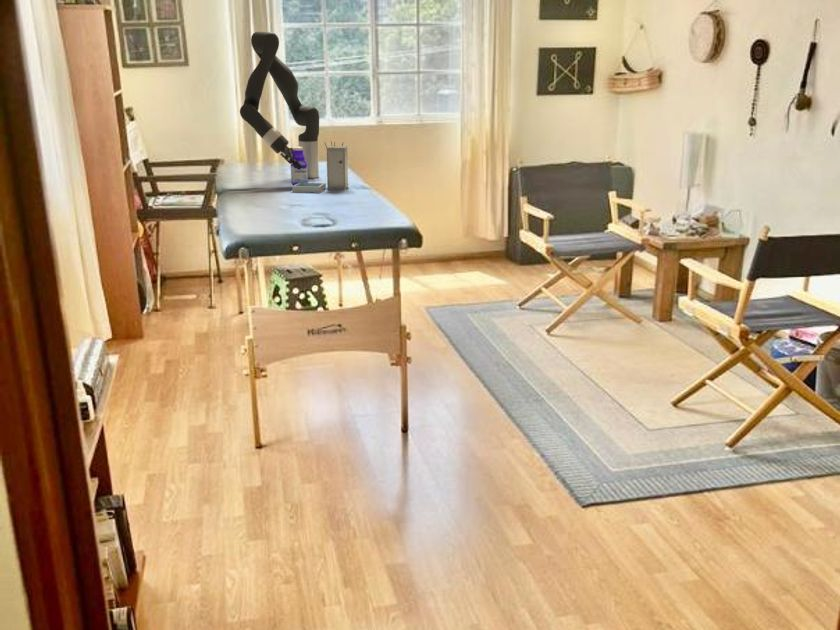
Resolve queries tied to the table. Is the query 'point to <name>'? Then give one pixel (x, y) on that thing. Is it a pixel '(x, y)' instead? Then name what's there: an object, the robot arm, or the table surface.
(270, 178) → the table surface
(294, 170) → the bottle
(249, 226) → the table surface
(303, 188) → the tray
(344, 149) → the grey slotted box
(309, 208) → the table surface
